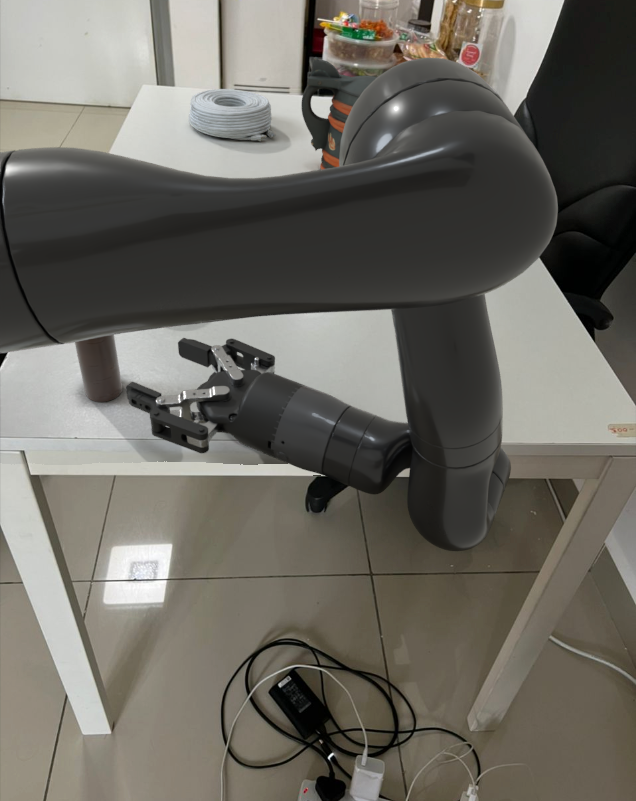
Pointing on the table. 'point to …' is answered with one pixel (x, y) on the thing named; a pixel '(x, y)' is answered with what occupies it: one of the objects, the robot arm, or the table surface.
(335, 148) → the beer stein
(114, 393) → the pepper mill
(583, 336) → the table surface
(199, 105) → the cable
